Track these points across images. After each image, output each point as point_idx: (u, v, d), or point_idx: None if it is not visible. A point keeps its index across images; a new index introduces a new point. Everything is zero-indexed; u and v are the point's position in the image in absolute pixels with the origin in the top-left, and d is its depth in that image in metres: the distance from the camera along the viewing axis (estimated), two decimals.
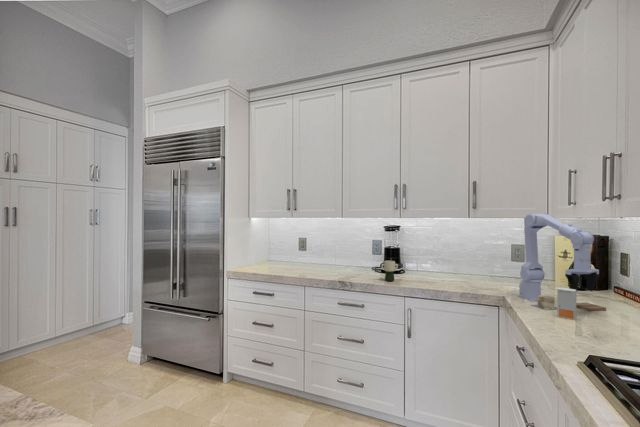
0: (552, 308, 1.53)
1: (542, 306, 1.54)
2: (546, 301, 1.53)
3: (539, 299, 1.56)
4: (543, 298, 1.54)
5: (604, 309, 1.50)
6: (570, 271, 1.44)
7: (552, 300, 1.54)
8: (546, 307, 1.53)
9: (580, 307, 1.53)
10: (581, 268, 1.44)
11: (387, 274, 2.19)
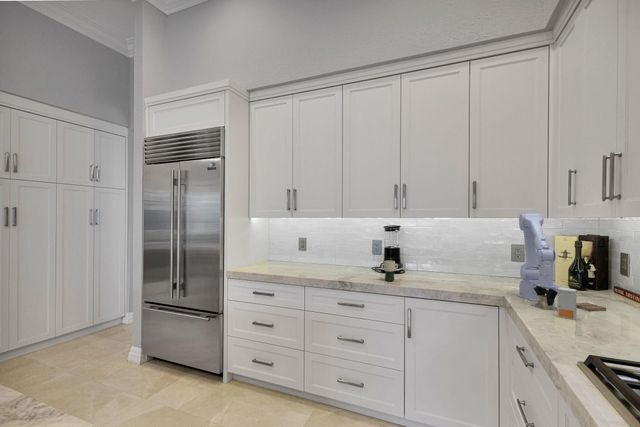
0: (552, 308, 1.53)
1: (542, 306, 1.54)
2: (546, 301, 1.53)
3: (539, 299, 1.56)
4: (543, 298, 1.54)
5: (604, 309, 1.50)
6: (532, 282, 1.62)
7: None
8: (546, 307, 1.53)
9: (580, 307, 1.53)
10: None
11: (387, 274, 2.19)
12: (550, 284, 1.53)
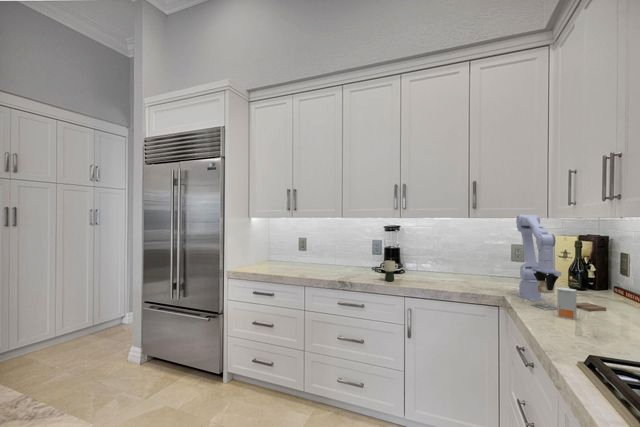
0: (552, 308, 1.53)
1: (542, 291, 1.55)
2: (545, 286, 1.53)
3: (539, 284, 1.56)
4: (543, 283, 1.54)
5: (604, 309, 1.50)
6: (532, 268, 1.62)
7: None
8: (546, 292, 1.53)
9: (580, 307, 1.53)
10: None
11: (387, 274, 2.19)
12: (550, 269, 1.53)
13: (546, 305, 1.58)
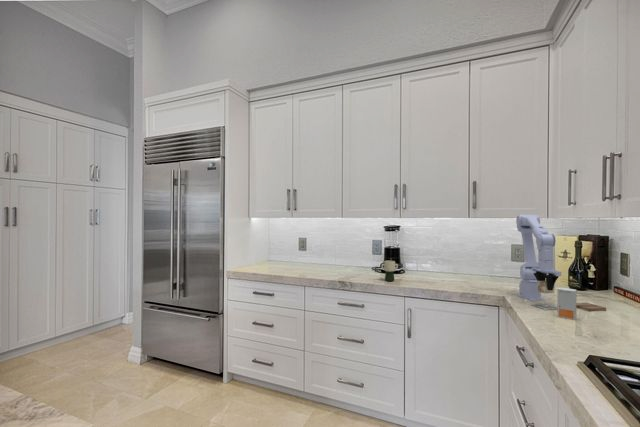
0: (552, 308, 1.53)
1: (542, 291, 1.55)
2: (545, 286, 1.53)
3: (539, 284, 1.56)
4: (543, 283, 1.54)
5: (604, 309, 1.50)
6: (532, 268, 1.62)
7: None
8: (546, 292, 1.53)
9: (580, 307, 1.53)
10: None
11: (387, 274, 2.19)
12: (550, 269, 1.53)
13: (546, 305, 1.58)
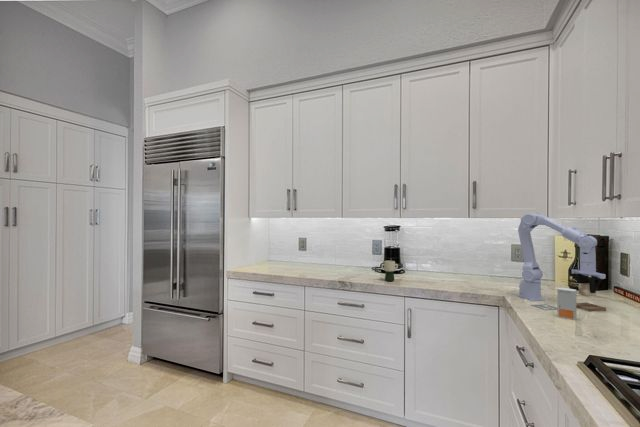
0: (552, 308, 1.53)
1: (584, 294, 1.53)
2: (588, 289, 1.51)
3: (580, 287, 1.54)
4: (585, 286, 1.52)
5: (604, 309, 1.50)
6: (572, 270, 1.60)
7: None
8: (588, 295, 1.51)
9: (580, 307, 1.53)
10: None
11: (387, 274, 2.19)
12: (593, 271, 1.51)
13: (546, 305, 1.58)
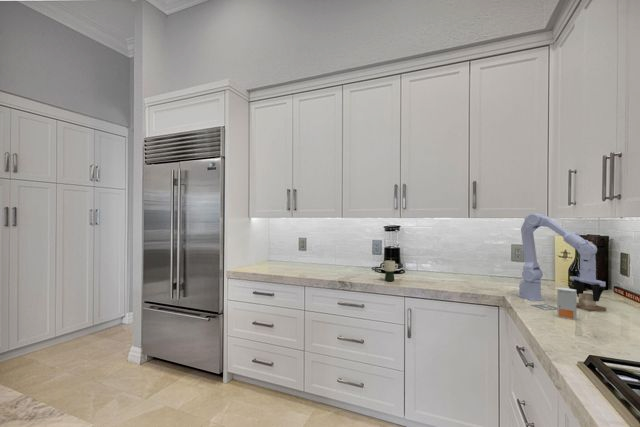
0: (552, 308, 1.53)
1: (584, 304, 1.53)
2: (588, 299, 1.51)
3: (580, 297, 1.54)
4: (585, 296, 1.52)
5: (604, 309, 1.50)
6: (572, 277, 1.60)
7: None
8: (588, 305, 1.51)
9: (580, 307, 1.53)
10: (580, 276, 1.56)
11: (387, 274, 2.19)
12: (593, 279, 1.51)
13: (546, 305, 1.58)
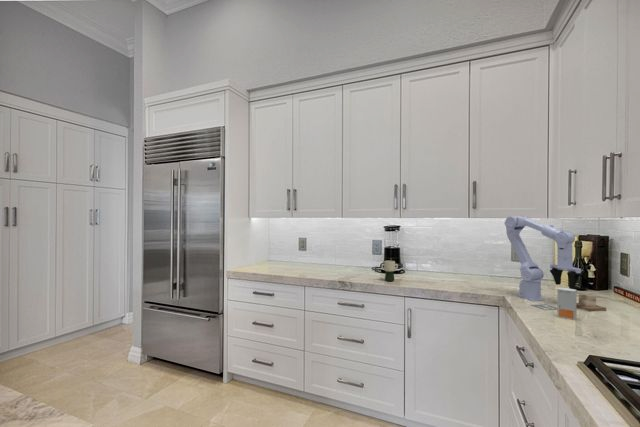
0: (552, 308, 1.53)
1: (584, 304, 1.53)
2: (588, 299, 1.51)
3: (580, 297, 1.54)
4: (585, 296, 1.52)
5: (604, 309, 1.50)
6: (551, 265, 1.65)
7: (594, 298, 1.52)
8: (588, 305, 1.51)
9: (580, 307, 1.53)
10: None
11: (387, 274, 2.19)
12: (569, 266, 1.56)
13: (546, 305, 1.58)
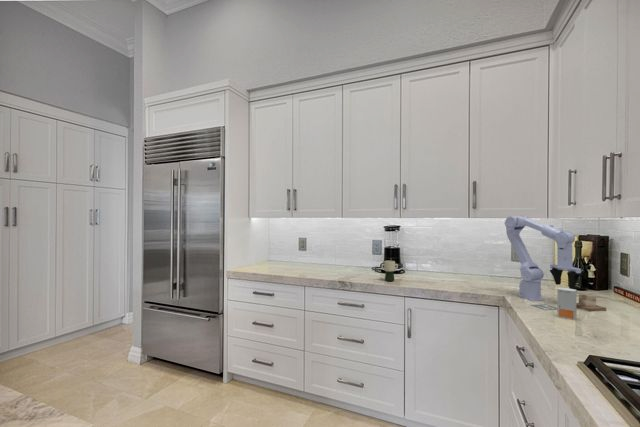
0: (552, 308, 1.53)
1: (584, 304, 1.53)
2: (588, 299, 1.51)
3: (580, 297, 1.54)
4: (585, 296, 1.52)
5: (604, 309, 1.50)
6: (551, 265, 1.65)
7: (594, 298, 1.52)
8: (588, 305, 1.51)
9: (580, 307, 1.53)
10: None
11: (387, 274, 2.19)
12: (569, 266, 1.56)
13: (546, 305, 1.58)
